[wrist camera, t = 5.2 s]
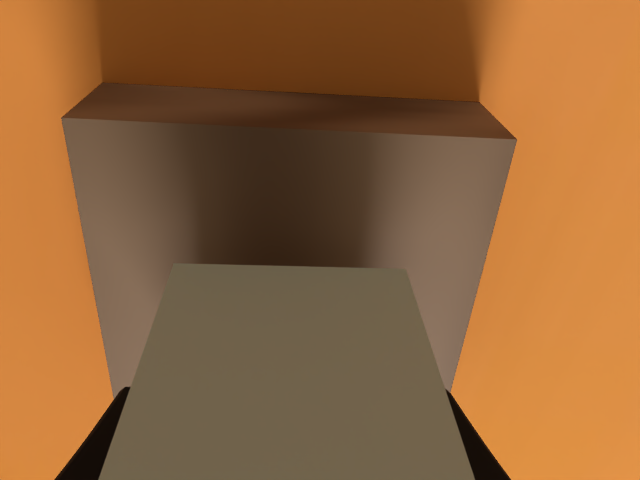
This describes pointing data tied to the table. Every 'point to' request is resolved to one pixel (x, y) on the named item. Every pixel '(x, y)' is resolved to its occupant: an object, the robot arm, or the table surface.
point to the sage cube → (287, 381)
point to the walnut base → (282, 196)
